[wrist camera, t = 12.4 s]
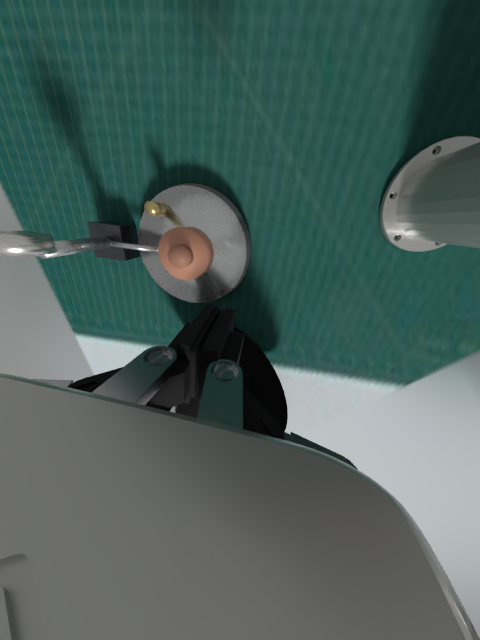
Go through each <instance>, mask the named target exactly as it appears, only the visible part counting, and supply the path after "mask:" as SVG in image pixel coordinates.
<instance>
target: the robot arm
mask: <svg viewBox="0 0 480 640" xmlns="http://www.w3.org/2000/svg"><path fill="white" fill-rule="evenodd" d="M432 151H433V153H432ZM390 194H391V195H392V196H391V198H390ZM379 219H380V227H381V229H382V232H383V235H384V236H385V237H386V239H387V240H388V241H389V242H390V243H391V244H392V245H394V246H396V247H398V248H400V249H403V250H407V251H414V252H421V251H429V250H433V249H437V248H439V247H442V246H445V245H447V244H452V245H459V246H467V247H474V248H480V138H478V137H473V136H456V137H452V138H448V139H444V140H442V141H439V142H437V143H435V144H432V145H431V146H429V147H427V148H425V149H423V150H421V151H420V152H419V153H417V154H416V155H414V156H413V157H412V158H411V159H409V160H408V161H407V162H406V163H405V164H404V165H403V166H402V167H401V168H400V170H399V171H398V172H397V173H396V175H395V176H394V177H393V179H392V180H391V182H390V184H389V185H388V187H387V189H386V191H385V194H384V196H383V198H382V202H381V206H380V215H379ZM395 236H396V238H395V239H394V237H395ZM235 316H236V310H234V309H229V308H226V310H222V311H221V313H220V309H217V306H214V305H209V304H207V305H206V306H205V307H204V309H203V310H202V311H201V313H200V314H199V315H198V316H197V318H196V319H195V320H194V322H193V323H187V324H186V325H185V326H184V327H183V329H182V330H181V331H180V332H179V334H178V335H177V336H176V337H175V338H174V340H173V341H172V342H171V343H170V345H169V346H168V347H167V346H155V347H151V348H149V349H147V350H145V351H144V352H142V353H141V354H140V355H139V356H137V357H136V358H135V359H133V360H132V361H131V362H130V363H128V364H127V365H126V366H125V367H122V368H119V369H115V370H112V371H108V372H105V373H101V374H98V375H94V376H91V377H87V378H84V379H81V380H78V381H76V382H74V383H73V381H72V380H42V379H27V378H23V377H18V376H13V375H7V374H1V373H0V640H480V639H479V637H478V635H477V633H476V631H475V629H474V627H473V625H472V623H471V620H470V618H469V617H468V615H467V613H466V611H465V609H464V607H463V605H462V603H461V601H460V599H459V598H458V595H457V594H456V592H455V590H454V588H453V586H452V584H451V582H450V580H449V578H448V576H447V575H446V573H445V571H444V569H443V568H442V566H441V564H440V562H439V561H438V559H437V557H436V555H435V553H434V551H433V550H432V548H431V546H430V544H429V543H428V541H427V539H426V538H425V536H424V535H423V533H422V531H421V530H420V528H419V527H418V525H417V524H416V523H415V521H414V520H413V518H412V517H411V516H410V514H409V513H408V512H407V511H406V509H405V508H404V507H403V505H402V504H401V503H400V502H399V501H398V500H397V499H396V498H395V497H393V495H391V494H390V493H389V492H388V491H387V490H385V489H384V488H383V487H382V486H381V485H379V484H378V483H377V482H375V481H374V480H372V479H371V478H370V477H368V476H366V475H365V474H363V473H362V472H360V471H358V469H357V468H356V467H355V466H354V465H353V464H352V463H351V461H350V460H348V459H346V458H345V457H343V456H341V455H339V454H337V453H335V452H333V451H331V450H329V449H327V448H324V447H322V446H320V445H318V444H316V443H313V442H311V441H309V440H307V439H305V438H303V437H301V436H299V435H297V434H294V433H292V432H291V433H290V434H287V433H285V432H283V431H282V429H281V427H280V426H279V424H278V423H277V422H276V421H275V420H274V418H273V417H272V416H271V415H270V414H269V413H268V411H267V410H266V409H265V408H264V407H263V406H262V405H261V403H260V402H259V401H258V400H257V399H256V398H255V397H254V395H253V394H252V393H251V392H250V391H249V390H248V389H247V387H246V386H245V385H244V384H243V376H242V369H241V367H240V366H239V365H238V363H239V359H240V355H241V350H242V345H243V339H244V334H241V333H236V332H233V329H234V322H235ZM197 393H198V404H197V405H198V407H199V410H198V415H197V418H195V417H190V416H186V415H182V414H178V413H175V411H176V409H177V405H178V404H181V403H187V404H189V402H190V400H191V398H192V397H194V398H195V397H196V395H197Z"/></svg>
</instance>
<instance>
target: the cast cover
mask: <svg viewBox="0 0 480 640" xmlns="http://www.w3.org/2000/svg"><path fill="white" fill-rule="evenodd" d="M159 257H160V260H161V263H162V265H163V266H164V268H165V269H166V270H167V271H168V272H169V273H170V274H171V275H172V276H174V277H176V278H178V279H181V280H193V279H195V278H197V277H199V276H200V275H201V274H203V273H204V272H205V271H206V270H207V269H208V268H209V267H210V266H211V264H212V261H213V257H214V250H213V246H212V243H211V241H210V239H209V238H208V236H207V235H206V234H205V233H204V232H203V231H201V230H199V229H198V228H195V227H178V228H173V229H170V230H168V231H167V232H166V233H165V234H164V235H163V236H162V238H161V240H160V242H159Z"/></svg>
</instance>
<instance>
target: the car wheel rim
mask: <svg viewBox="0 0 480 640" xmlns="http://www.w3.org/2000/svg"><path fill="white" fill-rule="evenodd" d="M233 332H236V333H241V334H244V333H243V332H241V331H240V330H238V329H237V328H235V327H234V329H233ZM238 365H239V366H240V367H241V369H242V376H243V384H244V385H245V386H246V387H247V389H248V390H249V391H250V392H251V393H252V394H253V395H254V397H255V398H256V399H257V400H258V401H259V402H260V403H261V405H262V406H263V407H264V408H265V409H266V410H267V411H268V413H269V414H270V415H271V416H272V417H273V418H274V420H275V421H276V422H277V423H278V424H279V426H280V427H281V429H282V431H283V432H284V431H285V429H286V425H287V419H288V417H287V404H286V398H285V395H284V391H283V388H282V385H281V383H280V380H279V378H278V376H277V374H276V372H275V370H274V368H273V366H272V365H271V363H270V361H269V360H268V358H267V357H266V356H265V354H264V353H263V352H262V350H261V349H260V348H259V347H258V346H257V345H256V344H255V343H254V342H253V341H252V340H251V339H250V338H249V337H248V336H247V335H245V334H244V339H243V345H242V350H241V355H240V359H239V363H238ZM197 404H198V393H197V395H196V397H195V398H194V397H192V398H191V400H190V402H189V404H187V403H181V404H178V405H177V409H176V411H175V413H178V414H182V415H186V416H190V417H195V418H197V415H198V410H199V407H198V405H197Z"/></svg>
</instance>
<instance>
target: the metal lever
mask: <svg viewBox="0 0 480 640" xmlns="http://www.w3.org/2000/svg"><path fill="white" fill-rule="evenodd" d="M88 225H89V230H90V234H91V238H83V239H74V240H64V241H54V240H53V236H52V234H49V233H43V232H31V231H0V256H38V257H40V258H42V259H46V258H52V257H57V256H63V255H69V254H75V253H80V252H86V251H92V250H94V251H95V255H96V257H103V258H110V259H117V260H125V261H126V260H129V259H133V258H136V257H140V253H139V250H141V251H148V252H156V253H159V247H154V246H146V245H139V244H138V238H137V230H136V225H130V224H122V223H114V222H88Z"/></svg>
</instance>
